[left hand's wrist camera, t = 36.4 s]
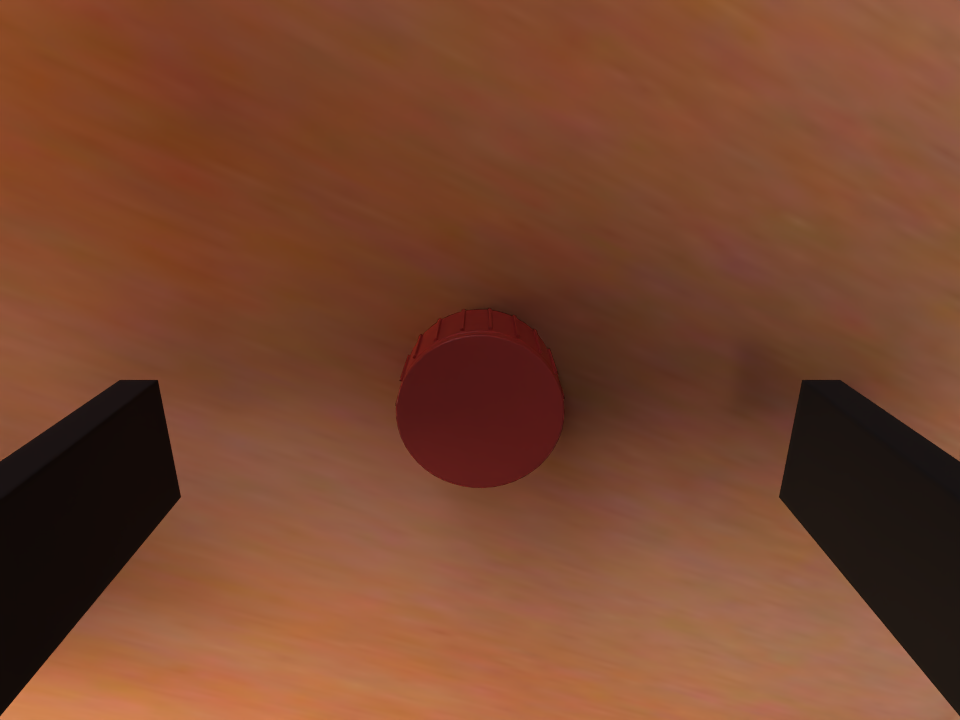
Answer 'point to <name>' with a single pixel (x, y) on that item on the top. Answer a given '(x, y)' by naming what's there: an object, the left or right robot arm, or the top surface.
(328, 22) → the top surface
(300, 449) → the top surface
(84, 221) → the top surface
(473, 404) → the cap
